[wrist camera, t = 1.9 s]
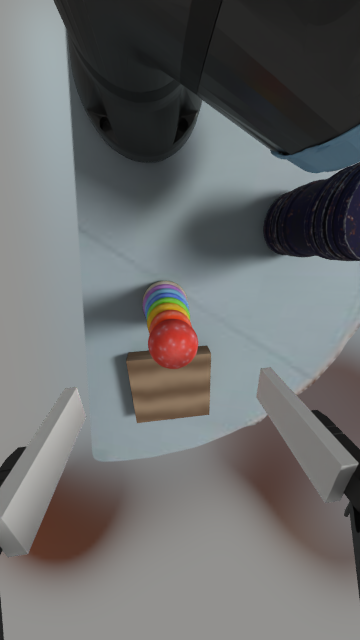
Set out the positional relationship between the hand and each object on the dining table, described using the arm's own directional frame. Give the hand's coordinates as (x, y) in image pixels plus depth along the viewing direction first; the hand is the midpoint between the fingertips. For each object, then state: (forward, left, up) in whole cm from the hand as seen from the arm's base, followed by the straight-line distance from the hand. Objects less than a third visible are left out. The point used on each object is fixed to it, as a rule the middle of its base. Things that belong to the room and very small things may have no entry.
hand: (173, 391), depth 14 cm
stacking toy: (0, 0, -23) cm, 23 cm away
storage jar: (-12, +22, -23) cm, 34 cm away
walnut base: (+18, 0, -22) cm, 29 cm away
